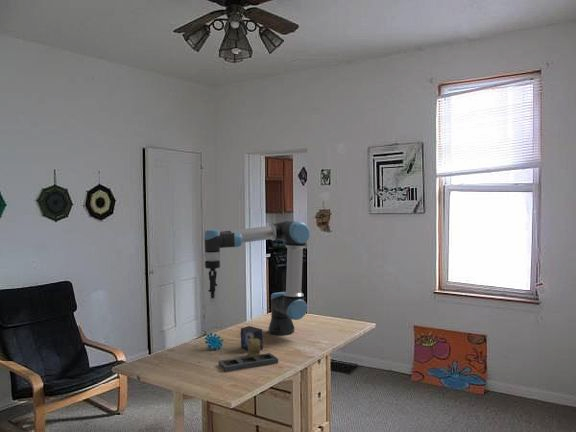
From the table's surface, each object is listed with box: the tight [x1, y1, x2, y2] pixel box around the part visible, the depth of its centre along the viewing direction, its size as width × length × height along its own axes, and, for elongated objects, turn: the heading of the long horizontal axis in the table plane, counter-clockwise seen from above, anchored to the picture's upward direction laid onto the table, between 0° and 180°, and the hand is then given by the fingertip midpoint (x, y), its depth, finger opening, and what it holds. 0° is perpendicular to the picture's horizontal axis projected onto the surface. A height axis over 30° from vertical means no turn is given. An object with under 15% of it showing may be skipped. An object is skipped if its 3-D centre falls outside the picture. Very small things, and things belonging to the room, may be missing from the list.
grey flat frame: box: [218, 352, 279, 373], centre depth 230 cm, size 26×10×2 cm, turn 115°
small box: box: [240, 325, 264, 351], centre depth 254 cm, size 11×6×10 cm, turn 47°
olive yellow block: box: [247, 338, 261, 356], centre depth 242 cm, size 4×4×8 cm
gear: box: [204, 332, 225, 351], centre depth 256 cm, size 11×6×10 cm
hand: (213, 301), depth 250 cm, fingers open, 13 cm apart
